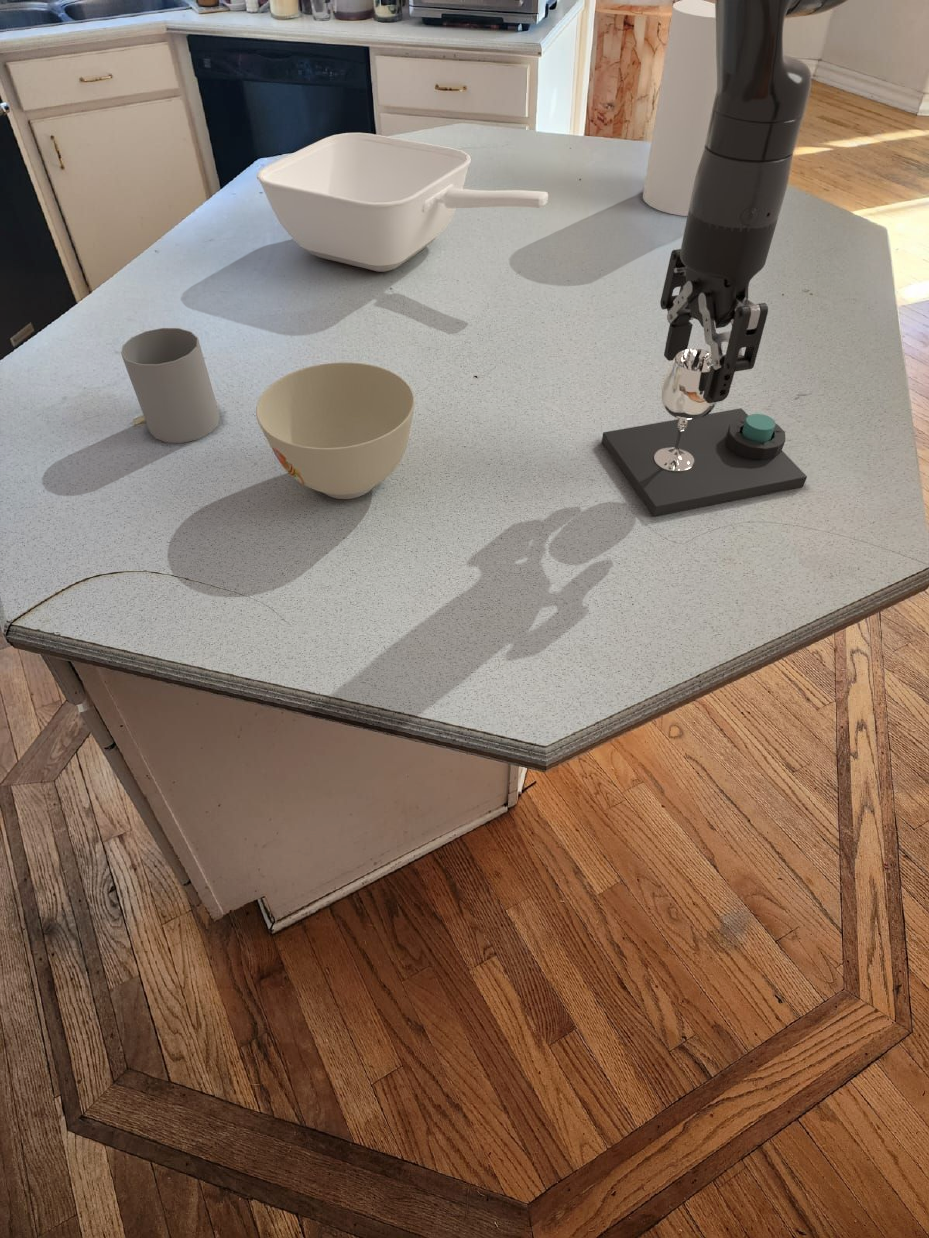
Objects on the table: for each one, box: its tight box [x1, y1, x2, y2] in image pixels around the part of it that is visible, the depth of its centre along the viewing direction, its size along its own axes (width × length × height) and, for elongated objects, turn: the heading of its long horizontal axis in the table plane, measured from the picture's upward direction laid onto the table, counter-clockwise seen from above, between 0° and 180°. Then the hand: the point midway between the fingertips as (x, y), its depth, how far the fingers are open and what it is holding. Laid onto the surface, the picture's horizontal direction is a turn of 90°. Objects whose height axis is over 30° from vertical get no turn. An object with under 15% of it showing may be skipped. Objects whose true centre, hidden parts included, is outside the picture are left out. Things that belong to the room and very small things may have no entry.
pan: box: [256, 132, 549, 273], centre depth 118 cm, size 27×44×13 cm, turn 61°
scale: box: [601, 407, 808, 517], centre depth 85 cm, size 19×14×3 cm
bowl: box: [255, 361, 416, 500], centre depth 80 cm, size 16×16×10 cm
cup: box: [120, 327, 221, 444], centre depth 88 cm, size 8×8×10 cm
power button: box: [742, 413, 776, 442], centre depth 85 cm, size 3×3×2 cm
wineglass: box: [654, 347, 718, 472], centre depth 80 cm, size 6×6×12 cm
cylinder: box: [642, 0, 717, 217], centre depth 130 cm, size 17×17×28 cm
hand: (693, 378), depth 77 cm, fingers open, 8 cm apart
